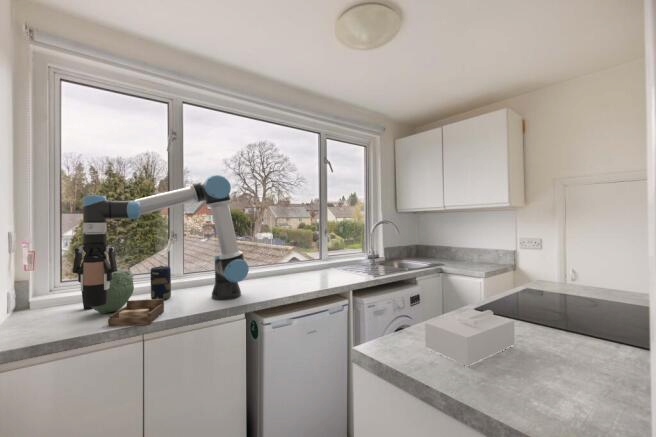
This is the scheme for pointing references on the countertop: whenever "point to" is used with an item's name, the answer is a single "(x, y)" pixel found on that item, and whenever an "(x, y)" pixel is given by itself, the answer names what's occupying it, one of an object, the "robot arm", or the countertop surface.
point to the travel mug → (94, 281)
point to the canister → (160, 282)
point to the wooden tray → (152, 304)
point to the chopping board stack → (133, 313)
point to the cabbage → (117, 291)
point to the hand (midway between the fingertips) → (95, 289)
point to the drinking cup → (83, 302)
